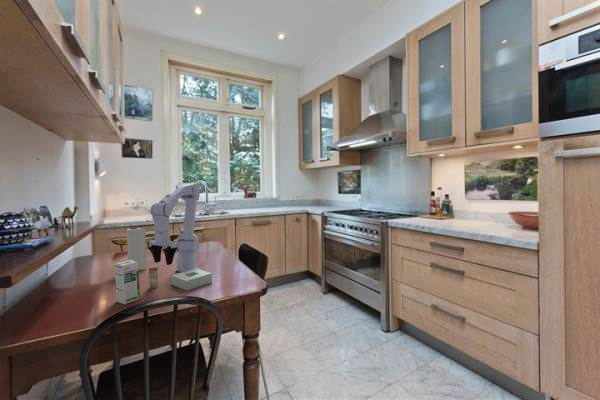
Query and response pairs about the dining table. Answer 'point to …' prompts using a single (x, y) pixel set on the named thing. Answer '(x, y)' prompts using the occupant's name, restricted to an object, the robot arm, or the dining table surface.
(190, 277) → the socket block
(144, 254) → the tall grey box
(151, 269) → the dowel
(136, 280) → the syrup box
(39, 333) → the dining table surface
